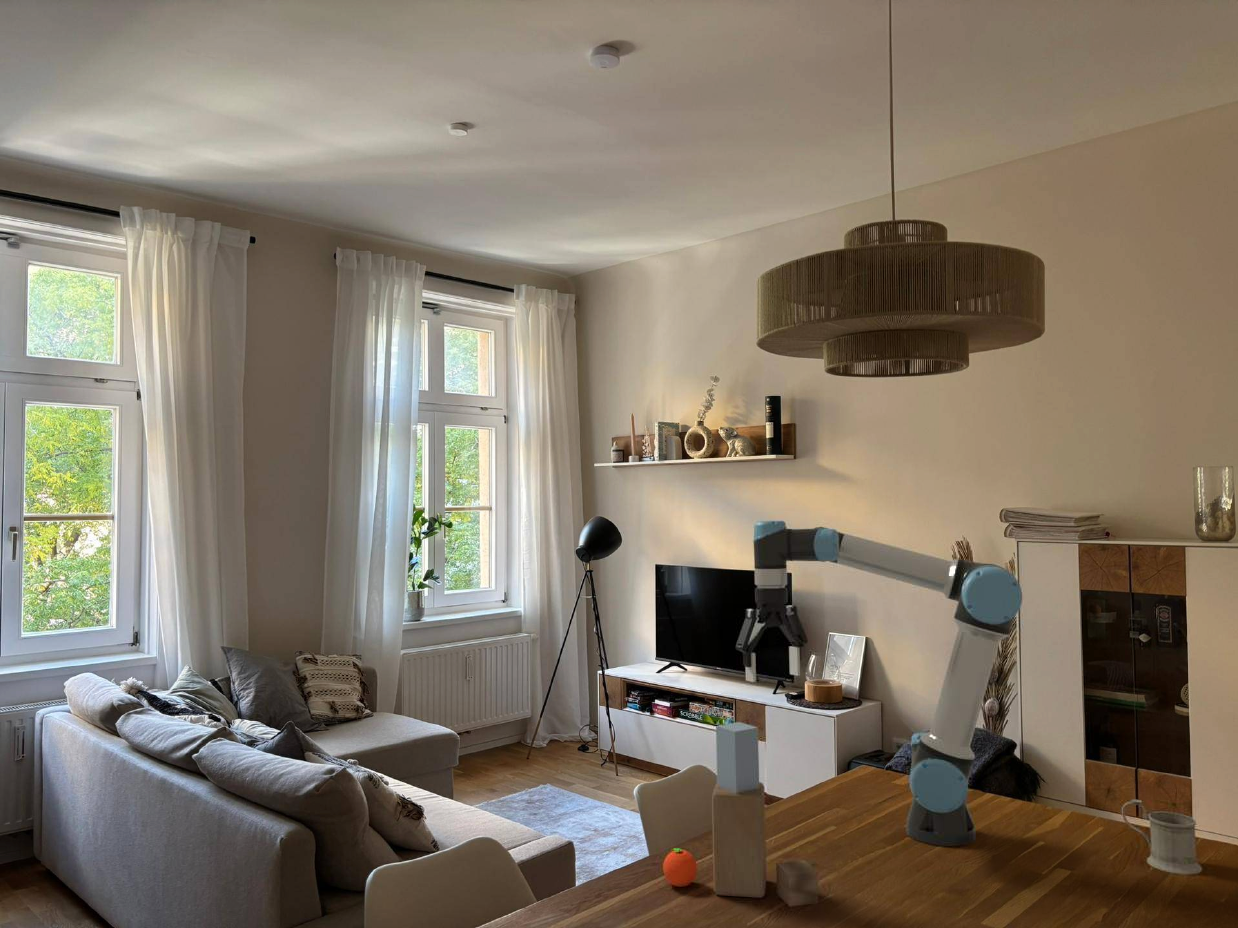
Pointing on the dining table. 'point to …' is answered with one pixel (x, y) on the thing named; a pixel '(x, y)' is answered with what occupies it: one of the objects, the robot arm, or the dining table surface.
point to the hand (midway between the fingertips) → (773, 678)
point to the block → (739, 842)
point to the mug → (1170, 841)
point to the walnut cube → (797, 882)
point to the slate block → (737, 757)
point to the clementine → (679, 867)
